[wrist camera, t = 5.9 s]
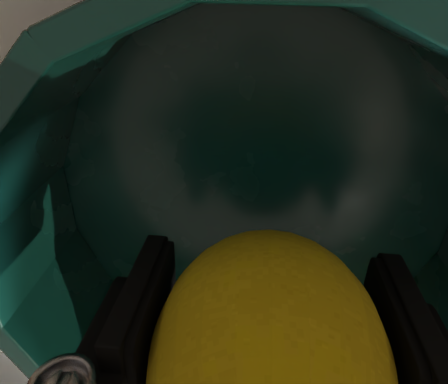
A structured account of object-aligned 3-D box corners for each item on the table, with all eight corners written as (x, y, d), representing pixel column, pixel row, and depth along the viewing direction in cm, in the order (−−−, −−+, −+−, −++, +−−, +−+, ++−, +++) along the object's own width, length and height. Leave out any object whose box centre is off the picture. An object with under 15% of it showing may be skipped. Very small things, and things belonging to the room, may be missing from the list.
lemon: (177, 298, 14) (84, 622, 7) (195, 164, 11) (73, 466, 4) (324, 327, 14) (387, 683, 7) (378, 199, 11) (582, 568, 4)
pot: (622, -164, 8) (1066, -345, 4) (393, 390, 19) (437, 523, 14) (-26, -165, 9) (-305, -311, 5) (96, 363, 20) (46, 480, 15)
